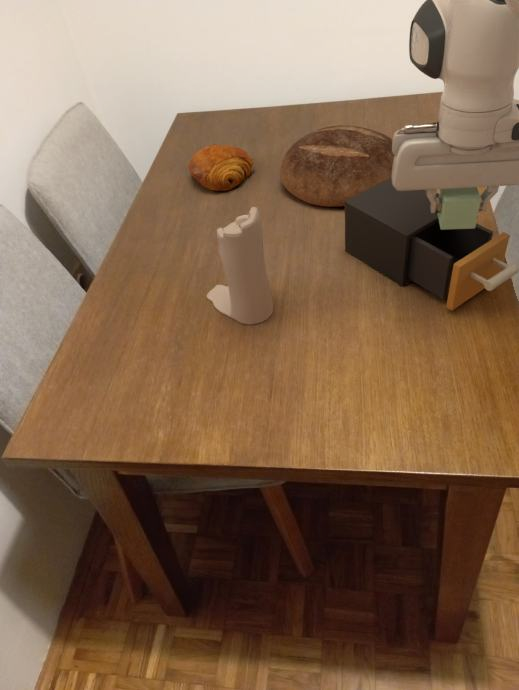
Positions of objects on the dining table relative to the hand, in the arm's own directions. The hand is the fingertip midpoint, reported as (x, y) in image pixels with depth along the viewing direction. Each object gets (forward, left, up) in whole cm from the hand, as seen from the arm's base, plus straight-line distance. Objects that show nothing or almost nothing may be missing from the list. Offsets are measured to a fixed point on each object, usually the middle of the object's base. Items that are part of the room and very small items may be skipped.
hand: (457, 210), depth 80 cm
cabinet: (+11, 0, -14) cm, 18 cm away
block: (0, 0, -2) cm, 2 cm away
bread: (+39, -10, -14) cm, 43 cm away
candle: (+19, +30, -14) cm, 39 cm away
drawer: (-2, 0, -13) cm, 13 cm away
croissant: (+60, +9, -14) cm, 63 cm away
